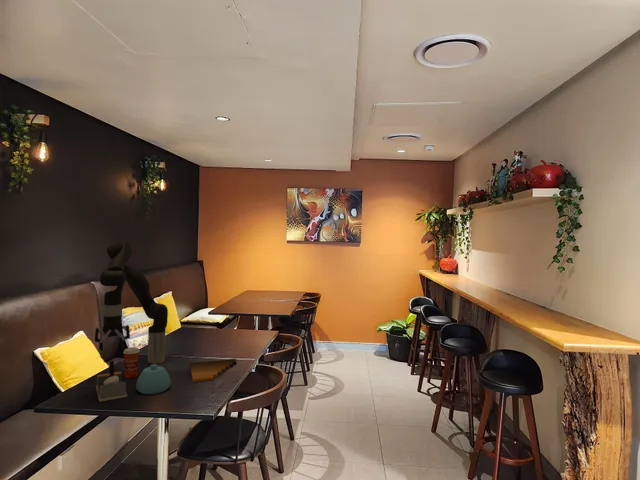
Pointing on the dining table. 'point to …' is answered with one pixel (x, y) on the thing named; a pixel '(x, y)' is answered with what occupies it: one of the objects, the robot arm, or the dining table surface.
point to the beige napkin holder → (111, 391)
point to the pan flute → (209, 369)
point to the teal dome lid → (153, 380)
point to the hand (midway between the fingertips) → (112, 349)
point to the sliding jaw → (105, 376)
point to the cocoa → (111, 376)
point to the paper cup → (131, 362)
